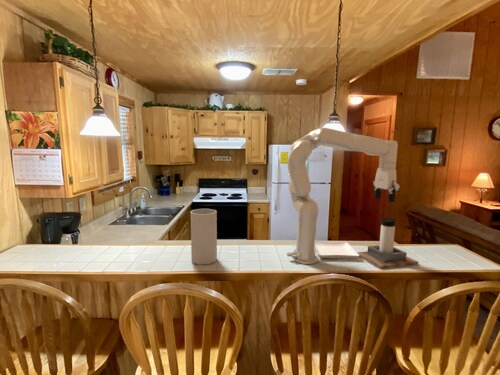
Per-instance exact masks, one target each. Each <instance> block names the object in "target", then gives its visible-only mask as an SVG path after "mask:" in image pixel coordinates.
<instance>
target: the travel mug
mask: <svg viewBox="0 0 500 375" xmlns="http://www.w3.org/2000/svg"><path fill="white" fill-rule="evenodd" d="M396 221H397V219H396V218H395V217H394V218H389V217H388V218H387V217H386V218H382V219H381V224H380V235H379V245H380V247H379V251H381V252H383V253H385V254H387V253H393V247H394V244H395V232H396Z"/></svg>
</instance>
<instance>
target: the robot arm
mask: <svg viewBox="0 0 500 375" xmlns="http://www.w3.org/2000/svg"><path fill="white" fill-rule="evenodd" d="M320 146H323V147H326V148H333V149H336V150H341V151H347V152H362V153H364V154H365V155H367V156H377V157H379V161H378V168H377V169H376V173H375V177H374V178H375V179H374V180H373V181H372V183H373V185H372V186H373V189H374V199H381V197H382V196H381V195H382V189H383V190H388V192H389V193H388V198H387V202H389V203H395V201H396V200H395V199H396V194H397V192H398V191H399V189H400V187H401V186H400V184H398V182H397V169H396V168H397V166H396V165H397V157H398V148H399V147H398V146H399V145H398V141H396V140H385V139H383V138H380V137H379V138H378V137H373V136H368V135H363V134H362V135H361V134H358V133H351V132H346V131H342V130H337V129H333V128H328V127H320V128H319V127H318V128H317V129H314V130H312V131H311V132H309V133H308V134H306V135H304V136H303V137H301V138H299V139H297V140H295V141H294V142H293V143H292V144H291V146H290V152H289V153H290V154H289V156H288V158H287V170H288V174H289V178H290V180H289V182H288V190H289V194H290V197H291V201H292V204H293V207H294V209H295V210H296V212H297V214H298V215H297V221H296V222H297V224H296V245H295V246H296V249H294V250H293V251H292V252H287V253H286V256H287V257H290V258H292V259H293V261H295V262H296V263H298V264H302V265H312V264H313V265H314V264H315V263H318V262H319V256H318V255H316V241H317V225H318V224H317V222H318V216H319V206H318V203H317V202H316V200H314V199H312V198H311V196H310V193H311V191H312V185H311V181H310V178H309V174H308V170H307V164H306V163H307V160H308V158H309V157H310V156H311V155H312V153H313V151H314V150H315V149H317V148H319V147H320Z"/></svg>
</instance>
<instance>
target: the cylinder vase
mask: <svg viewBox="0 0 500 375" xmlns="http://www.w3.org/2000/svg"><path fill="white" fill-rule="evenodd" d="M217 213H218V211H217V210H216V209H211V208H197V209H192V210H191V211H190V243H191V244H190V250H191V255H190V256H191V262H192V263H193V264H195V263H196V264H195V265H198V264H207V265H211V264H213V262H214V263H215V262H216V261H217V260H218V248H217V247H218V242H217V241H218V238H217V237H218V232H217V231H218V229H217V228H218V227H217V226H218V225H217V224H218V223H217V222H218V221H217V220H218V217H217V216H218V215H217ZM210 263H211V264H210Z"/></svg>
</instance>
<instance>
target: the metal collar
mask: <svg viewBox="0 0 500 375" xmlns="http://www.w3.org/2000/svg"><path fill="white" fill-rule="evenodd" d="M379 247H380V244H378V245H369V246H367V251H368V253H367V254H369V255H371V256H373V257H375V258H376V259H378V260H380V261H382V262H384V263H389V262H398V261H406V256H407V252H405V251H404V250H401V249H399V248H397V247H395V246H393V253H387V254H385V253H383V252H381V251H379Z"/></svg>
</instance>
